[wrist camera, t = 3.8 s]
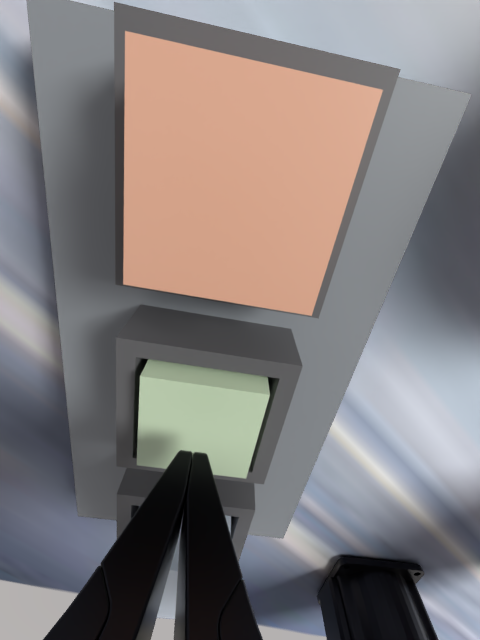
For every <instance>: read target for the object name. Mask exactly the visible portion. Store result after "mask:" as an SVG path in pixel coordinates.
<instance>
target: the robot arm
mask: <svg viewBox="0 0 480 640" xmlns="http://www.w3.org/2000/svg"><path fill="white" fill-rule="evenodd" d="M181 524H182V525H181ZM180 529H181V532H180ZM179 534H180V543H179V560H178V577H177V594H176V611H175V628H174V640H263V639H262V636H261V633H260V631H259V628H258V625H257V622H256V619H255V616H254V613H253V609H252V606H251V603H250V600H249V597H248V593H247V590H246V586H245V583H244V580H242V573H241V569H240V566H239V562H238V559H237V555H236V552H235V548H234V545H233V542H232V538H231V535H230V531H229V528H228V524H227V521H226V517H225V514H224V510H223V507H222V503H221V500H220V496H219V493H218V489H217V486H216V482H215V479H214V475H213V472H212V468H211V465H210V462H209V458H208V455H207V454H206V453H202V452H194V453H192V452H191V451H186V450H180V451H179V452H178V453H177V454H176V456H175V457H174V458H173V460H172V461H171V463H170V464H169V466H168V467H167V468H166V470H165V471H164V473H163V474H162V476H161V477H160V479H159V480H158V481H157V483H156V484H155V486H154V487H153V489H152V490H151V491H150V493H149V494H148V496H147V497H146V499H145V500H144V502H143V503H142V504H141V506H140V507H139V509H138V510H137V512H136V513H135V514H134V516H133V517H132V519H131V520H130V522H129V523H128V525H127V526H126V527H125V529H124V530H123V532H122V533H121V535H120V536H119V537H118V539H117V540H116V542H115V543H114V545H113V546H112V547H111V549H110V550H109V552H108V553H107V555H106V556H105V558H104V559H103V560H102V562H101V566H98V567H97V569H96V570H95V572H94V573H93V575H92V576H91V577H90V579H89V580H88V582H87V583H86V584H85V586H84V587H83V589H82V590H81V591H80V593H79V594H78V595H77V597H76V598H75V599H74V601H73V602H72V604H71V605H70V606H69V608H68V609H67V610H66V612H65V613H64V614H63V615H62V617H61V618H60V619H59V620H58V622H57V623H56V624H55V625H54V627H53V628H52V629H51V630H50V632H49V633H48V634H47V635H46V637H45V638H44V639H43V640H150V639H151V636H152V632H153V629H154V625H155V621H156V618H157V614H158V611H159V607H160V603H161V600H162V596H163V593H164V589H165V585H166V582H167V578H168V574H169V571H170V567H171V564H172V560H173V556H174V553H175V549H176V545H177V542H178V538H179ZM423 575H424V571H423V569H422V567H421V566H420V565H418V564H409V563H400V562H390V561H381V560H371V559H362V558H352V557H342V558H340V559H339V560H338V562H337V563H336V565H335V567H334V568H333V570H332V572H331V573H330V575H329V577H328V578H327V580H326V582H325V583H324V585H323V587H322V588H321V590H320V592H319V593H318V595H317V599H318V603H319V604H320V605H321V610H322V615H323V621H324V626H325V632H326V637H327V640H438V637H437V635H436V632H435V630H434V628H433V625H432V623H431V621H430V618H429V616H428V613H427V611H426V609H425V606H424V604H423V602H422V599H421V597H420V594H419V592H418V590H417V587H416V585H415V584H416V583H417V582H418V581H419V580H420V578H421V577H422V576H423Z"/></svg>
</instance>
